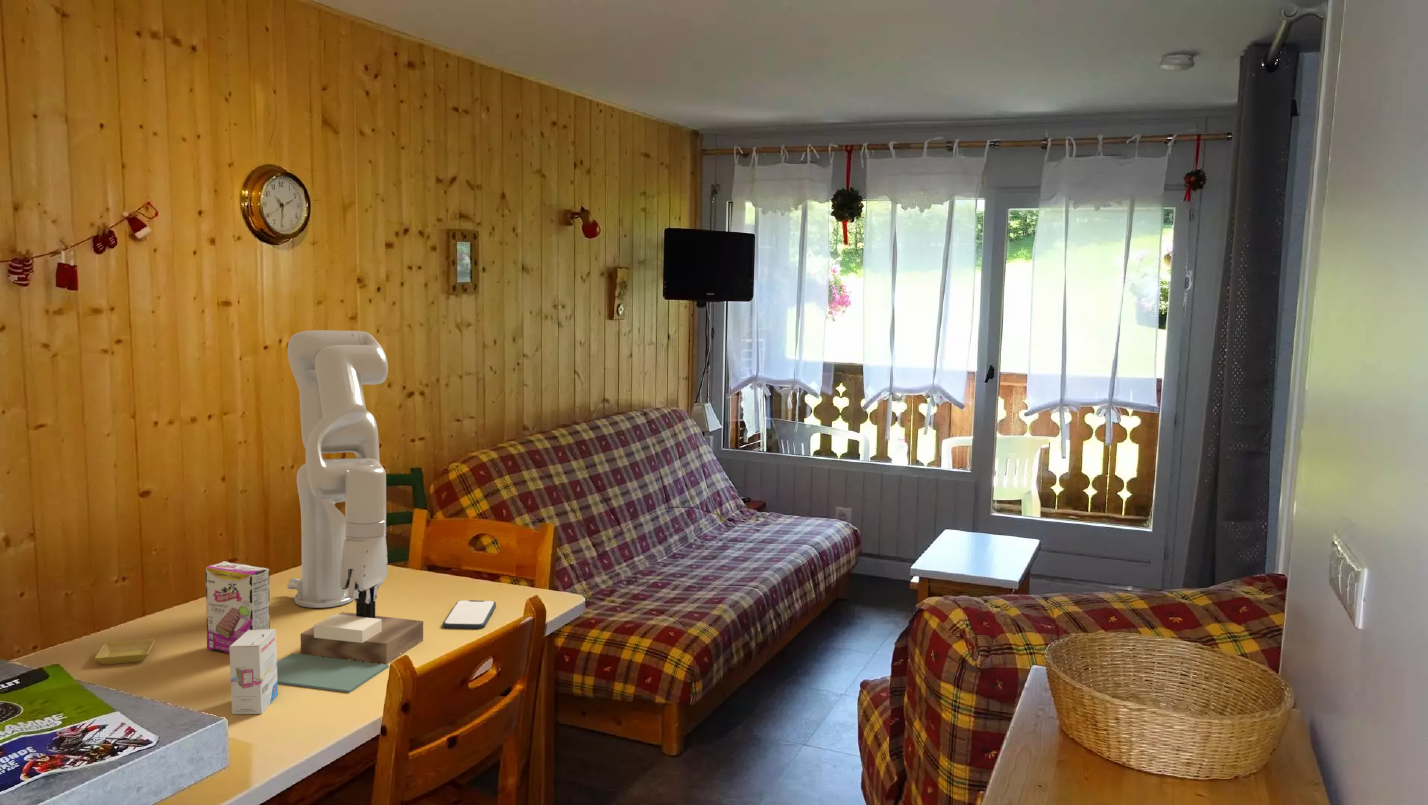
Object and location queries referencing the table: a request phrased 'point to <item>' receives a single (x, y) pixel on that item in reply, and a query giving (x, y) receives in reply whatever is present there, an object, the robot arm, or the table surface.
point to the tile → (347, 628)
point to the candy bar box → (235, 602)
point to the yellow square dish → (124, 652)
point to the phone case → (469, 614)
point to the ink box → (253, 671)
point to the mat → (325, 672)
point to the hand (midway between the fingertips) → (365, 621)
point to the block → (368, 642)
